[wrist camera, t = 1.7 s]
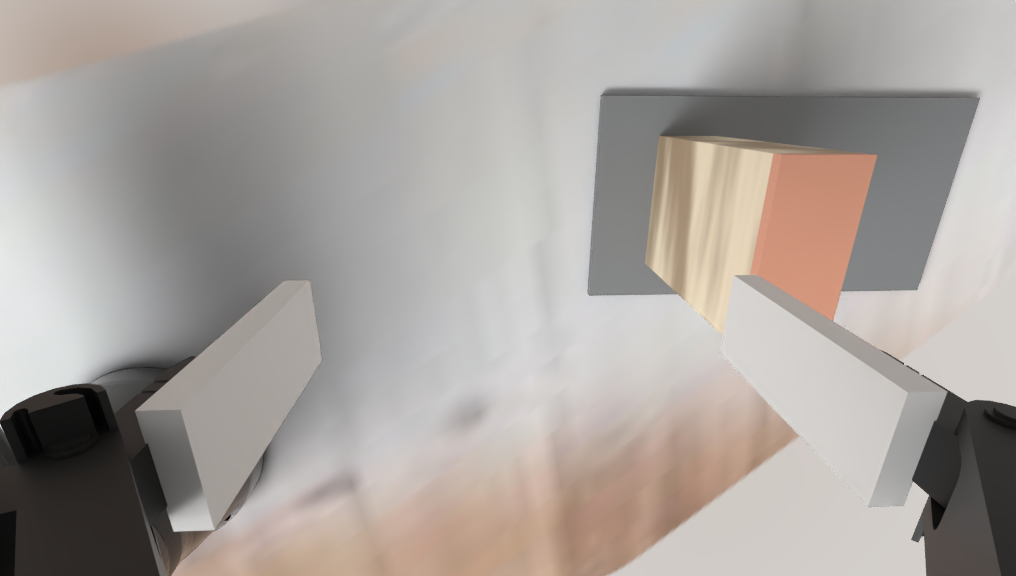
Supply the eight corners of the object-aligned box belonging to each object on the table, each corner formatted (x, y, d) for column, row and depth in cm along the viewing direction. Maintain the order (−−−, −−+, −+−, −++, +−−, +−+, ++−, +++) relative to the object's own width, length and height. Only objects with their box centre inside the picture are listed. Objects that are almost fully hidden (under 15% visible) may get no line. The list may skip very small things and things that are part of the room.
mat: (587, 292, 37) (589, 295, 36) (601, 95, 32) (603, 95, 31) (910, 287, 38) (917, 290, 38) (971, 98, 33) (980, 98, 33)
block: (644, 263, 35) (742, 354, 22) (658, 135, 32) (782, 154, 19) (697, 262, 36) (824, 352, 23) (716, 135, 32) (877, 155, 19)
